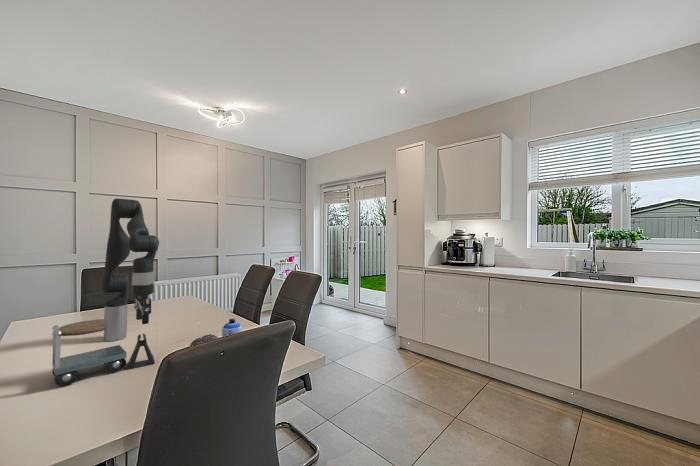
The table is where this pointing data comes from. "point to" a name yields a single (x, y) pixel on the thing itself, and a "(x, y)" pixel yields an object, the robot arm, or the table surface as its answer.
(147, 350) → the triangular clip stand
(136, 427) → the table surface
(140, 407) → the table surface
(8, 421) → the table surface
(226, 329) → the aerosol can
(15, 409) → the table surface
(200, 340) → the decorative flower
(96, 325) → the trivet
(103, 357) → the trolley
